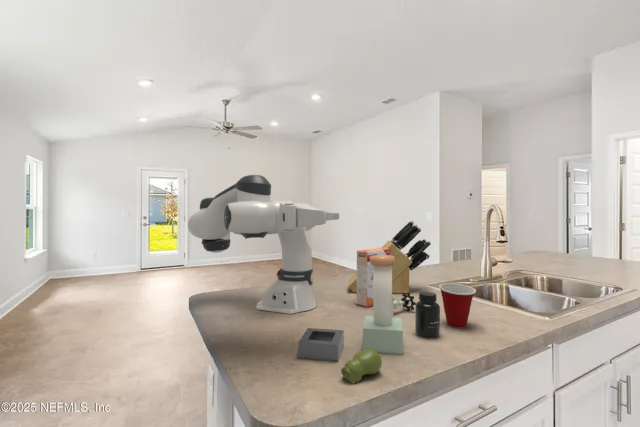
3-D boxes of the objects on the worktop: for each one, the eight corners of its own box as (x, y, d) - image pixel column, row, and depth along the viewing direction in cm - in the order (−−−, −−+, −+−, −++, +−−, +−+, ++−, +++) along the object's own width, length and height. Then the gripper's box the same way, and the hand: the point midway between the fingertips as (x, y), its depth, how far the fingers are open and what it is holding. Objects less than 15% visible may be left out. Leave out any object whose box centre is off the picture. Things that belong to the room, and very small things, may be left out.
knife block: (432, 294, 143) (431, 221, 143) (348, 293, 147) (347, 221, 146) (426, 288, 155) (425, 220, 154) (348, 287, 158) (347, 220, 157)
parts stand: (363, 351, 88) (363, 328, 88) (366, 336, 98) (365, 315, 98) (402, 354, 86) (402, 330, 86) (401, 339, 96) (401, 317, 96)
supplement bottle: (436, 340, 95) (436, 297, 95) (412, 335, 98) (412, 294, 98) (442, 332, 101) (442, 292, 100) (419, 328, 104) (419, 289, 104)
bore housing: (298, 358, 85) (298, 342, 85) (308, 342, 95) (307, 327, 94) (338, 361, 83) (338, 345, 83) (343, 344, 92) (343, 330, 92)
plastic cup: (457, 333, 100) (457, 292, 100) (431, 321, 110) (431, 285, 110) (484, 327, 104) (484, 288, 104) (457, 317, 114) (457, 281, 114)
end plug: (370, 326, 90) (369, 258, 89) (371, 318, 96) (370, 254, 96) (395, 327, 88) (394, 258, 88) (395, 319, 95) (394, 255, 94)
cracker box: (367, 308, 125) (367, 251, 125) (355, 304, 130) (355, 250, 130) (391, 300, 135) (391, 248, 134) (379, 297, 139) (378, 246, 139)
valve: (389, 319, 114) (416, 313, 119) (389, 299, 113) (416, 294, 119) (377, 313, 119) (402, 308, 125) (377, 295, 119) (402, 290, 125)
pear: (385, 350, 76) (350, 369, 71) (388, 372, 77) (353, 392, 71) (368, 341, 81) (334, 359, 75) (371, 362, 81) (338, 381, 76)
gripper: (281, 226, 104) (325, 225, 107) (290, 230, 84) (344, 229, 87) (280, 205, 104) (324, 204, 107) (290, 204, 84) (344, 204, 87)
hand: (333, 215), depth 97 cm, fingers open, 8 cm apart
